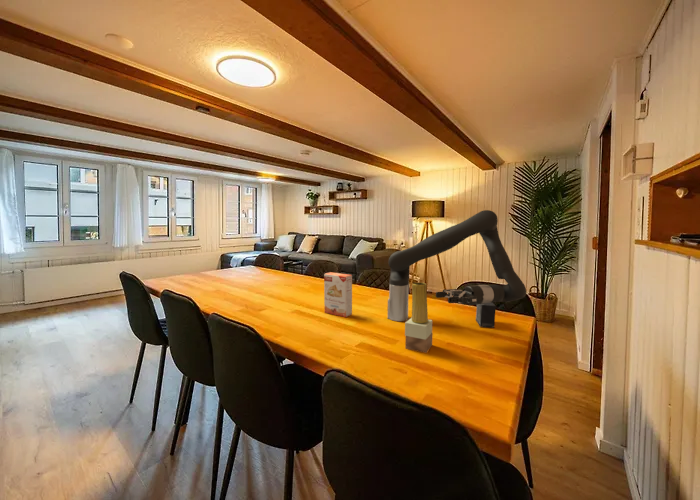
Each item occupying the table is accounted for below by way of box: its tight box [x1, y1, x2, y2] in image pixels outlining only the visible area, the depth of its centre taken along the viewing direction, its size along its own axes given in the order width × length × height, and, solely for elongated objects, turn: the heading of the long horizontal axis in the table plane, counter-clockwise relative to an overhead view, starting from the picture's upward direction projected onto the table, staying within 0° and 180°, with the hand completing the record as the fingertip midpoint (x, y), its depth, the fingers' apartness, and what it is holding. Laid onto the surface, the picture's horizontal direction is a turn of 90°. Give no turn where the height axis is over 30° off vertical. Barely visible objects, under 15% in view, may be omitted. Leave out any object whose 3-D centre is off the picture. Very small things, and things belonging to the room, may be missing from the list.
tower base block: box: [405, 332, 433, 353], centre depth 117 cm, size 8×8×5 cm
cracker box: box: [323, 271, 353, 318], centre depth 157 cm, size 14×6×21 cm, turn 55°
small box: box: [475, 302, 497, 329], centre depth 142 cm, size 11×6×10 cm, turn 168°
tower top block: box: [404, 316, 433, 340], centre depth 116 cm, size 8×8×5 cm
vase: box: [411, 282, 429, 323], centre depth 116 cm, size 6×6×14 cm
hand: (442, 297), depth 117 cm, fingers open, 8 cm apart
